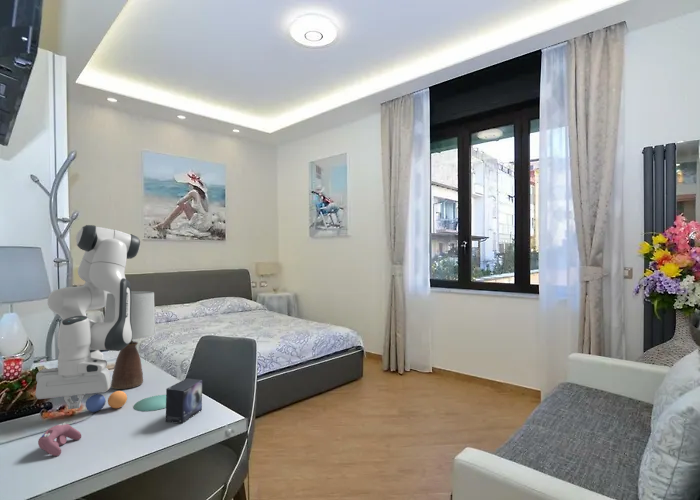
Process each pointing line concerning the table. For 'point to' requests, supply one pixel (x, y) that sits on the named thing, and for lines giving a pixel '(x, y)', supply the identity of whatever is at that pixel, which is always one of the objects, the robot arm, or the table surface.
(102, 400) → the blue ball
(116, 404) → the object ball
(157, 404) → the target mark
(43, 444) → the video game controller
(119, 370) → the lamp
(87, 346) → the robot arm
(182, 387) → the small box
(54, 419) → the table surface
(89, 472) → the table surface
